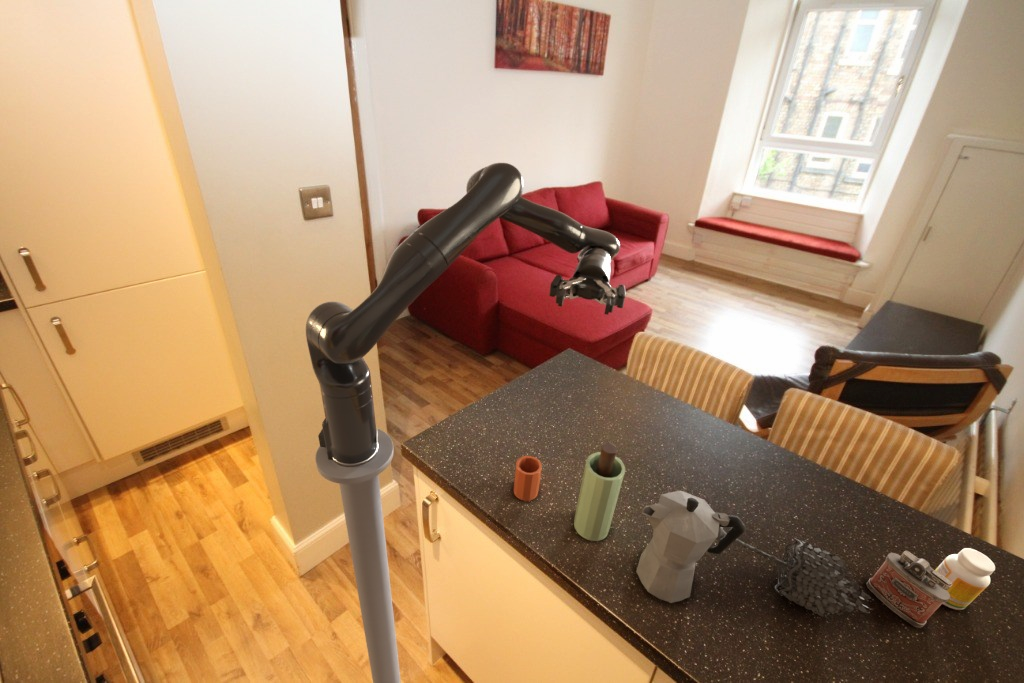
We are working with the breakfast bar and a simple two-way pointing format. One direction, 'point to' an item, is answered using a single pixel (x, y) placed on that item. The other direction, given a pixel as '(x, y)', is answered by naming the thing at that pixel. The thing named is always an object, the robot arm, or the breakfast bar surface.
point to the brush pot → (527, 478)
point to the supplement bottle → (966, 576)
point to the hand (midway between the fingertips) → (583, 305)
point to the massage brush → (813, 578)
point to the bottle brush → (606, 460)
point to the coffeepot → (681, 543)
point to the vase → (597, 499)
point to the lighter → (910, 587)
